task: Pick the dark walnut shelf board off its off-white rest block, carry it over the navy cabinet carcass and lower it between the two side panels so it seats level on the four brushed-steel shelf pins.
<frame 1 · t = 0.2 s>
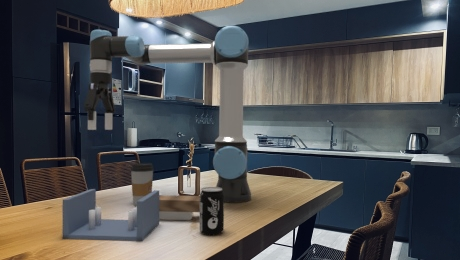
hand: (100, 129, 125), 28 cm above the table, fingers open, 13 cm apart
walnut board: (175, 208, 106), point 3 cm above the table, touching rest block
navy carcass: (114, 230, 93), on the table
rest block: (175, 218, 106), on the table
coffee cup: (142, 204, 125), on the table
beverage can: (211, 233, 92), on the table
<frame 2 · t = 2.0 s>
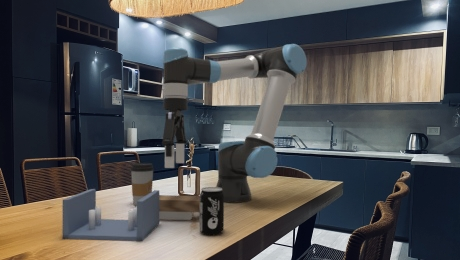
hand: (175, 165, 106), 17 cm above the table, fingers open, 13 cm apart
nothing on the table moved.
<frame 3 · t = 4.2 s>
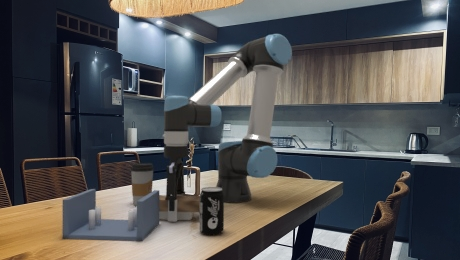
hand: (175, 217, 105), 0 cm above the table, fingers closed on walnut board, 7 cm apart
walnut board: (175, 208, 105), point 3 cm above the table, touching gripper, rest block
everything else where it was.
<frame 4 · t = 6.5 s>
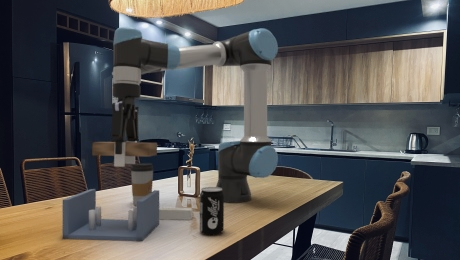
hand: (125, 164, 95), 18 cm above the table, fingers closed on walnut board, 7 cm apart
walnut board: (125, 155, 95), point 21 cm above the table, touching gripper
everything else where it was.
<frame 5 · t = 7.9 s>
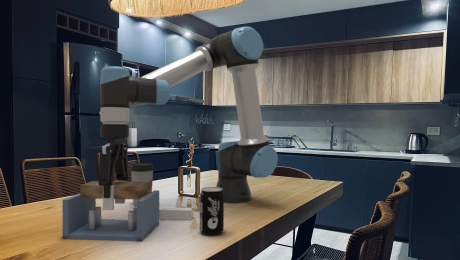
hand: (114, 206, 93), 7 cm above the table, fingers closed on walnut board, 7 cm apart
walnut board: (114, 196, 93), point 10 cm above the table, touching gripper
everything else where it was.
when the fingers open (4 cm above the table, at t = 8.8 s): walnut board stays where it is, resting on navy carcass.
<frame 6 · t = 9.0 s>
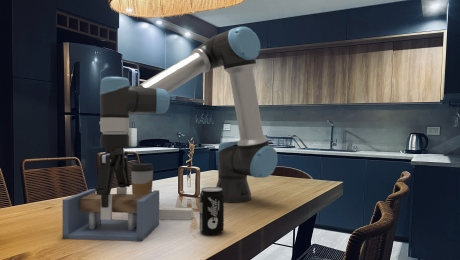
hand: (114, 214, 93), 5 cm above the table, fingers open, 9 cm apart
walnut board: (114, 209, 93), point 6 cm above the table, touching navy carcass
everything else where it was.
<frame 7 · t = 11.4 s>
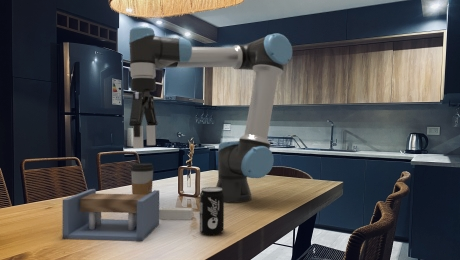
hand: (145, 146, 104), 23 cm above the table, fingers open, 13 cm apart
nothing on the table moved.
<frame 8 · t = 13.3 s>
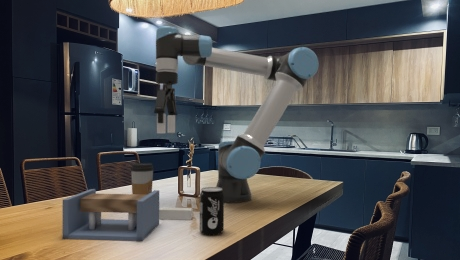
hand: (166, 133, 117), 27 cm above the table, fingers open, 13 cm apart
nothing on the table moved.
at the end: walnut board 0.1 cm off-centre on the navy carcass, point 6.0 cm above the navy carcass's base; walnut board tilted 0°; the gripper is holding nothing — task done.
